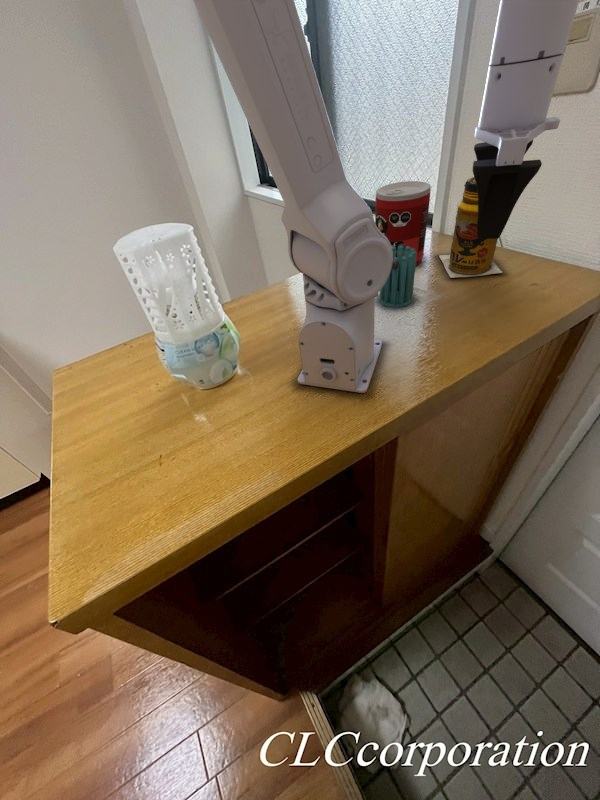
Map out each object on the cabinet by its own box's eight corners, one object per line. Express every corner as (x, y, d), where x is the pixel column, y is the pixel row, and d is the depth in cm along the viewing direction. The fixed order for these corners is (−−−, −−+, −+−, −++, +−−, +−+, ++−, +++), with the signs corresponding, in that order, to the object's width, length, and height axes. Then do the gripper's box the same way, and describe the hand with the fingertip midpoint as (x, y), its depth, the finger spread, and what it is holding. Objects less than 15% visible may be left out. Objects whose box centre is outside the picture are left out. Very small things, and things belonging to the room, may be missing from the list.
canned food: (366, 261, 60) (365, 190, 53) (403, 248, 62) (408, 178, 54) (392, 275, 55) (396, 199, 47) (432, 261, 57) (442, 185, 49)
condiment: (450, 279, 52) (466, 189, 43) (438, 256, 58) (450, 173, 49) (502, 274, 50) (529, 180, 42) (484, 251, 56) (504, 166, 48)
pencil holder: (408, 312, 47) (375, 310, 48) (415, 289, 51) (383, 288, 52) (413, 262, 42) (376, 261, 43) (420, 241, 46) (385, 242, 48)
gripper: (598, 54, 24) (534, 250, 33) (566, 48, 33) (522, 203, 43) (487, 72, 26) (455, 250, 36) (485, 62, 36) (461, 205, 45)
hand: (487, 224), depth 39 cm, fingers open, 7 cm apart
